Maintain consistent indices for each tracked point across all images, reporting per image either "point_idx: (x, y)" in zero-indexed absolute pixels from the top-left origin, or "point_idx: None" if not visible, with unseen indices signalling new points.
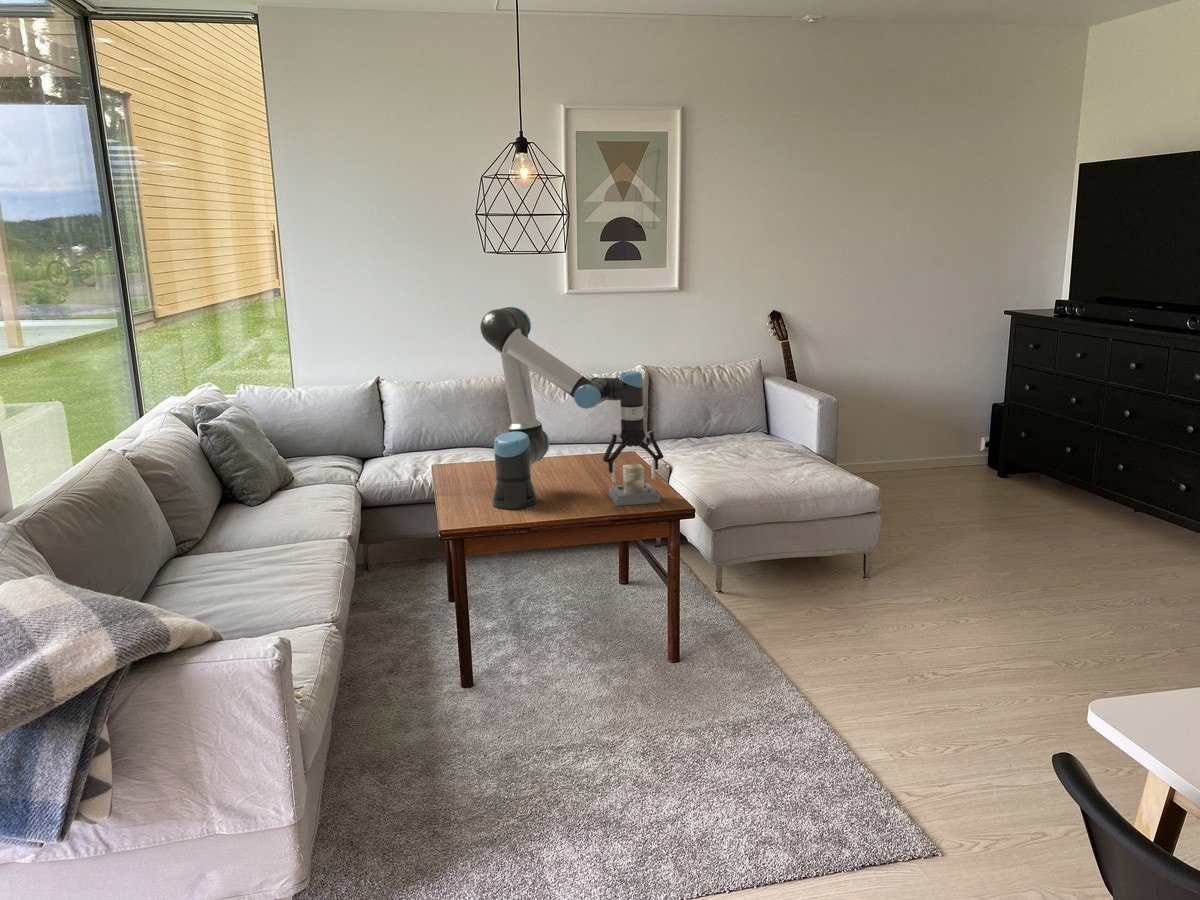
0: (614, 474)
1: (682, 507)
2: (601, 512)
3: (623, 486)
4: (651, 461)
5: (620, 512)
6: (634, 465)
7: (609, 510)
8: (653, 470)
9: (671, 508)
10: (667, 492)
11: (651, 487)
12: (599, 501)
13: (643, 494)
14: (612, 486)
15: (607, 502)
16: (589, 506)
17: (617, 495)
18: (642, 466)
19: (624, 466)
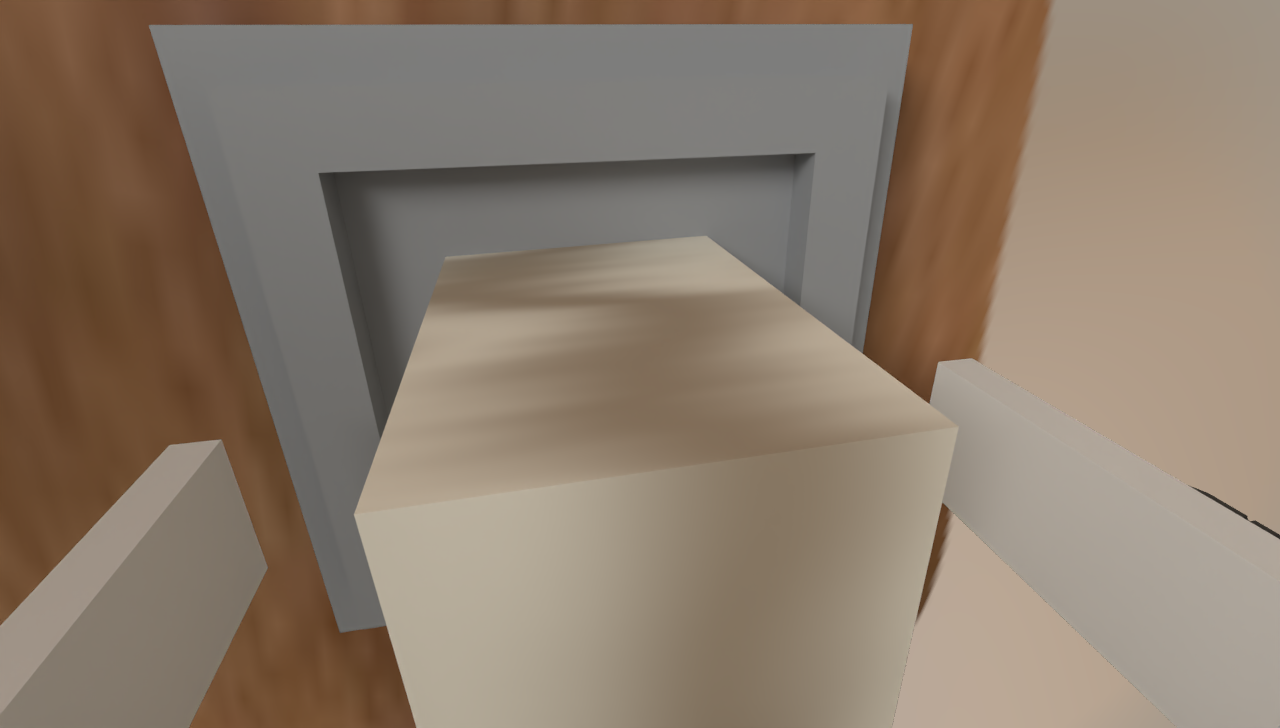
0: (174, 716)
1: (917, 614)
2: (215, 723)
3: (439, 283)
4: (1259, 597)
5: (408, 718)
6: (742, 585)
7: (295, 675)
8: (1039, 585)
9: None
10: (1010, 138)
11: (845, 320)
12: (110, 383)
13: None
14: (222, 129)
15: (238, 435)
16: (13, 560)
17: (353, 587)
18: (902, 676)
19: (418, 672)
